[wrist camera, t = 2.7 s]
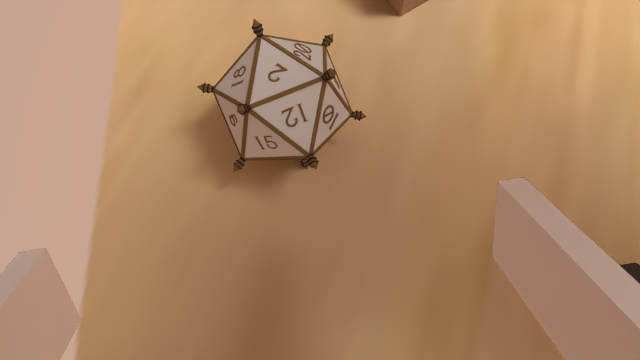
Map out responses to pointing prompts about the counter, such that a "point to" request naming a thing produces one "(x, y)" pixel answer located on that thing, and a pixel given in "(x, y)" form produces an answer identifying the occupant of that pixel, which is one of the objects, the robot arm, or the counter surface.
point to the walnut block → (405, 5)
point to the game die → (282, 99)
